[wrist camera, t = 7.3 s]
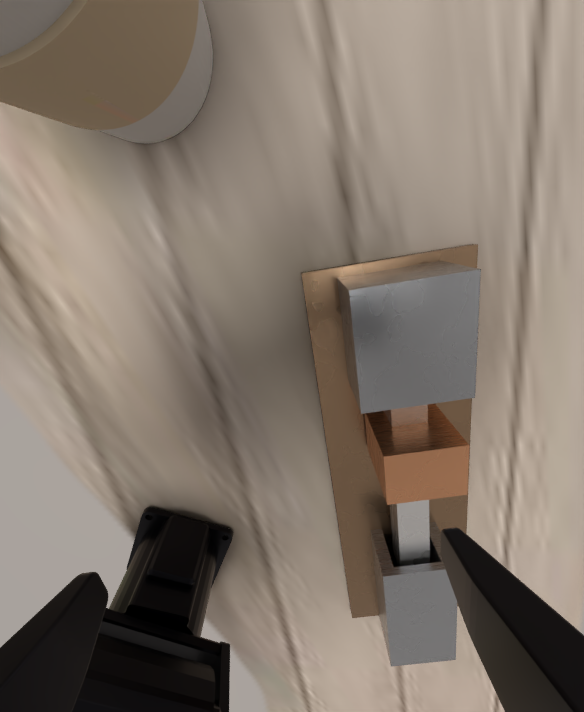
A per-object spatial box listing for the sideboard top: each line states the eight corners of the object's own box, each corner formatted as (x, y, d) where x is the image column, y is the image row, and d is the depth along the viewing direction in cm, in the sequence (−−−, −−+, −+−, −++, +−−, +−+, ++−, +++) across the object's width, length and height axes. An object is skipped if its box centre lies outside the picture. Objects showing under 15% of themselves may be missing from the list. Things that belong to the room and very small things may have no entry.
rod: (433, 541, 24) (463, 607, 20) (377, 548, 24) (395, 615, 20) (430, 330, 18) (472, 360, 14) (357, 341, 18) (377, 375, 14)
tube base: (460, 599, 27) (489, 661, 23) (351, 611, 28) (361, 674, 24) (472, 244, 17) (526, 249, 13) (301, 272, 18) (304, 285, 14)
